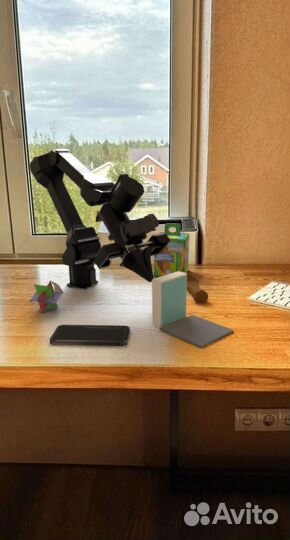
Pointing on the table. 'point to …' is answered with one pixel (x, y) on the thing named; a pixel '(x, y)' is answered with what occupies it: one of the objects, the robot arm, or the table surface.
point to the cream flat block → (169, 298)
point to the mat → (196, 330)
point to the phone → (90, 335)
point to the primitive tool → (196, 290)
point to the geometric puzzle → (47, 295)
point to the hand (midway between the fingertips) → (152, 280)
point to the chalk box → (173, 252)
